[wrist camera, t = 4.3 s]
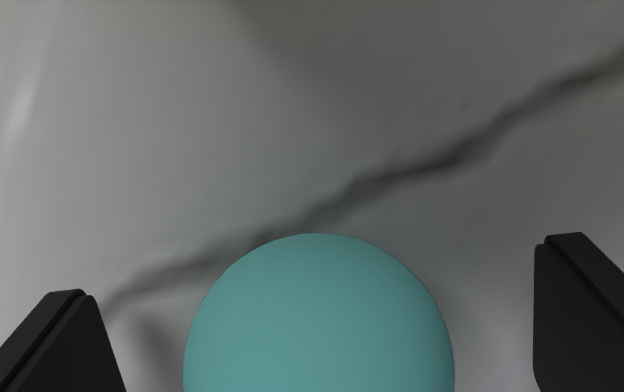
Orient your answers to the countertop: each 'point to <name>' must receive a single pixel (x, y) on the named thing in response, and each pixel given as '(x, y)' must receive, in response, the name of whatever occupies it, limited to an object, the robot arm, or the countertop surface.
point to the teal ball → (318, 323)
